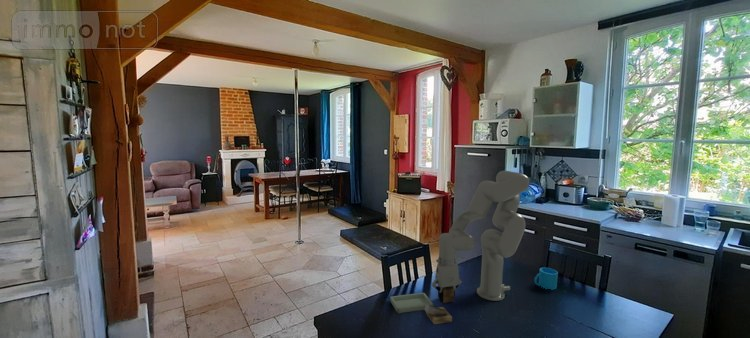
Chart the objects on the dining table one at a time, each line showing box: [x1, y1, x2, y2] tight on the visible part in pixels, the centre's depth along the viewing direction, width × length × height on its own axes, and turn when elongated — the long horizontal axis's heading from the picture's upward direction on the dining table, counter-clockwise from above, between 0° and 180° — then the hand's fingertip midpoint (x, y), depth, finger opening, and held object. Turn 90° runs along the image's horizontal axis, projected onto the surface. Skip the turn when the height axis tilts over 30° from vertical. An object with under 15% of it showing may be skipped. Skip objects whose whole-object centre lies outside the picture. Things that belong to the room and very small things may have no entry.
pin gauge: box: [424, 304, 446, 317], centre depth 132 cm, size 3×3×8 cm
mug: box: [534, 267, 559, 291], centre depth 161 cm, size 12×8×8 cm
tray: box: [389, 292, 435, 314], centre depth 142 cm, size 17×11×2 cm, turn 105°
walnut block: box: [442, 286, 455, 304], centre depth 146 cm, size 5×5×6 cm
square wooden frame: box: [425, 306, 453, 325], centre depth 132 cm, size 8×8×2 cm
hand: (446, 298), depth 146 cm, fingers closed on walnut block, 5 cm apart
